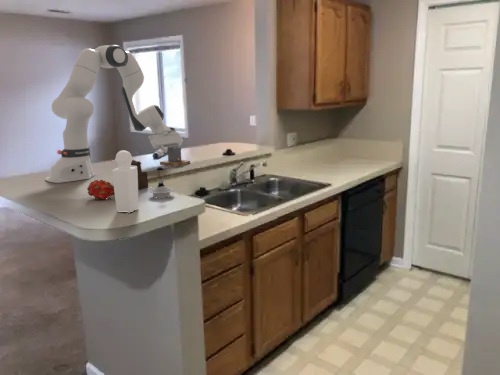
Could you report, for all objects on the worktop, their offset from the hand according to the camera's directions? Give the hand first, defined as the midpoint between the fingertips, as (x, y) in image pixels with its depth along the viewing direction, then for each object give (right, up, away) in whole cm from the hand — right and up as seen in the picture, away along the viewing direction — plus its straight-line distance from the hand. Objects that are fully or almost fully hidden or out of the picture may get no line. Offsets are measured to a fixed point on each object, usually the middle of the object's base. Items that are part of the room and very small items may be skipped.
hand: (173, 151), depth 246 cm
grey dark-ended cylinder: (-13, 0, +31) cm, 34 cm away
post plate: (+1, -7, +1) cm, 7 cm away
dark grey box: (+1, -5, +1) cm, 6 cm away
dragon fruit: (-15, -25, -72) cm, 78 cm away
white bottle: (0, -29, -90) cm, 95 cm away
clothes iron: (-9, -20, -52) cm, 57 cm away
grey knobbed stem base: (+8, -24, -70) cm, 75 cm away
